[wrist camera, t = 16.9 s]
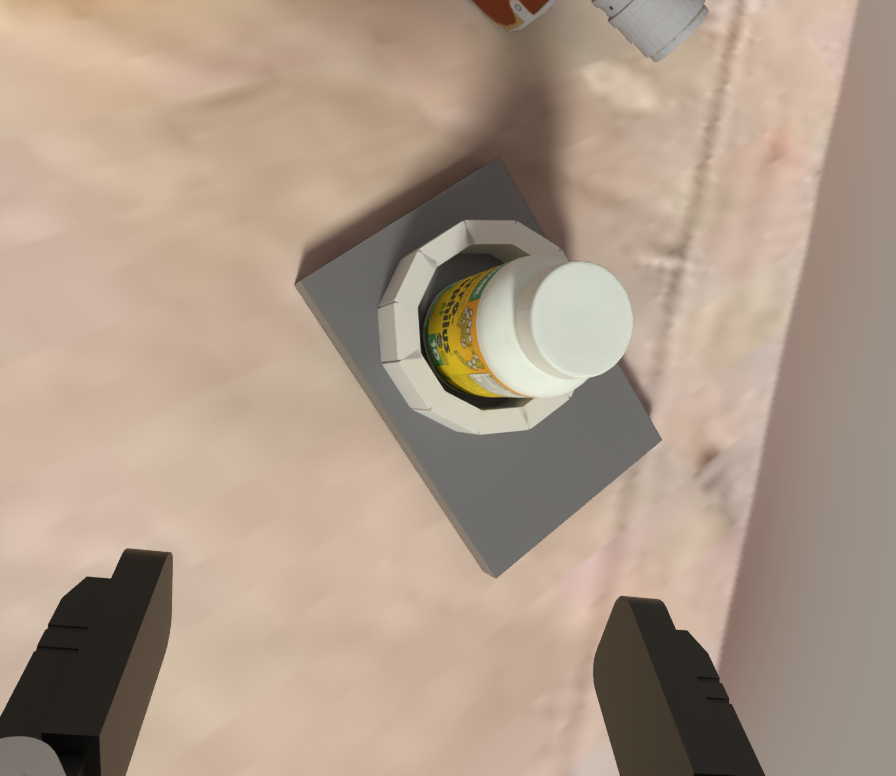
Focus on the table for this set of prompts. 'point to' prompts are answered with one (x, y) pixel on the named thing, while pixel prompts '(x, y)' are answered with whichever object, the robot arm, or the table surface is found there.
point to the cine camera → (615, 19)
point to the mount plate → (464, 416)
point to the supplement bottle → (528, 328)
